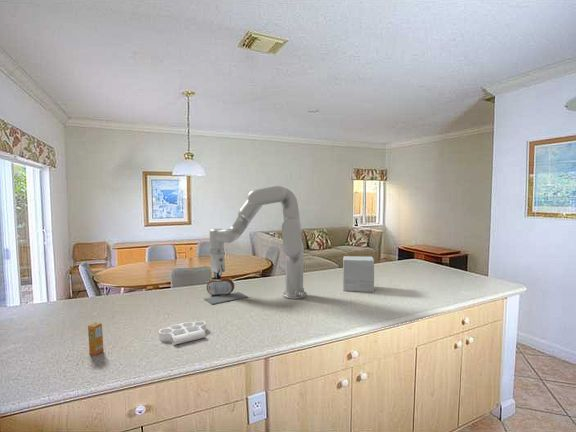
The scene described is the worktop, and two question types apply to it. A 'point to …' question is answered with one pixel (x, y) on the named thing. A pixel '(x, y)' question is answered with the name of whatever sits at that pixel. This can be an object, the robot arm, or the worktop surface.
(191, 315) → the worktop surface
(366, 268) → the supplement box
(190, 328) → the white egg tray
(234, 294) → the gray mat
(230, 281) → the tin
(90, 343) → the supplement box
